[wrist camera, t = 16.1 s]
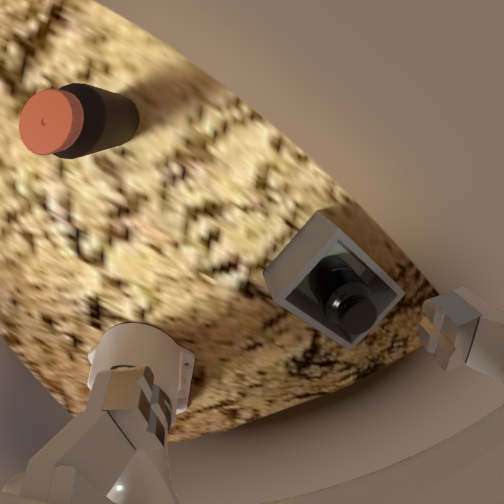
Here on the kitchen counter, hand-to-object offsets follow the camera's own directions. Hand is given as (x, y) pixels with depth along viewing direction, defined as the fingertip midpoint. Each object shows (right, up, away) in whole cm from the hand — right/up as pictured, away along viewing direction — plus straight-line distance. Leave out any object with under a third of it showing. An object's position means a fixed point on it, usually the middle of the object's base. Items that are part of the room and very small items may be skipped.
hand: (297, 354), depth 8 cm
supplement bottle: (+10, -1, +39) cm, 41 cm away
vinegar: (-19, +20, +28) cm, 39 cm away
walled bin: (+10, 0, +40) cm, 41 cm away
